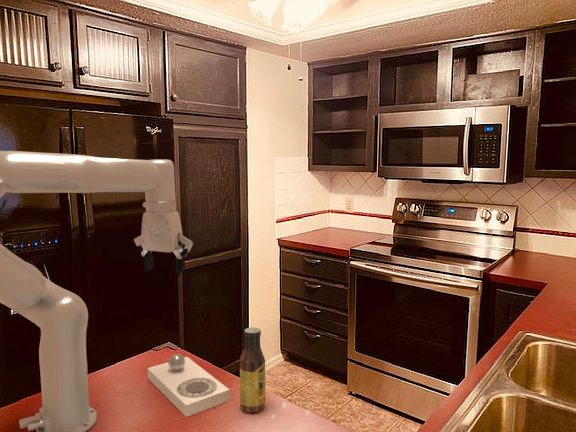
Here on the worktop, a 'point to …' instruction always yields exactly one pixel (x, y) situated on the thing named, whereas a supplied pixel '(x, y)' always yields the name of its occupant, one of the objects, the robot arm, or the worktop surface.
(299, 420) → the worktop surface
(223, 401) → the deck
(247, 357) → the sauce bottle
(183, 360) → the ball
